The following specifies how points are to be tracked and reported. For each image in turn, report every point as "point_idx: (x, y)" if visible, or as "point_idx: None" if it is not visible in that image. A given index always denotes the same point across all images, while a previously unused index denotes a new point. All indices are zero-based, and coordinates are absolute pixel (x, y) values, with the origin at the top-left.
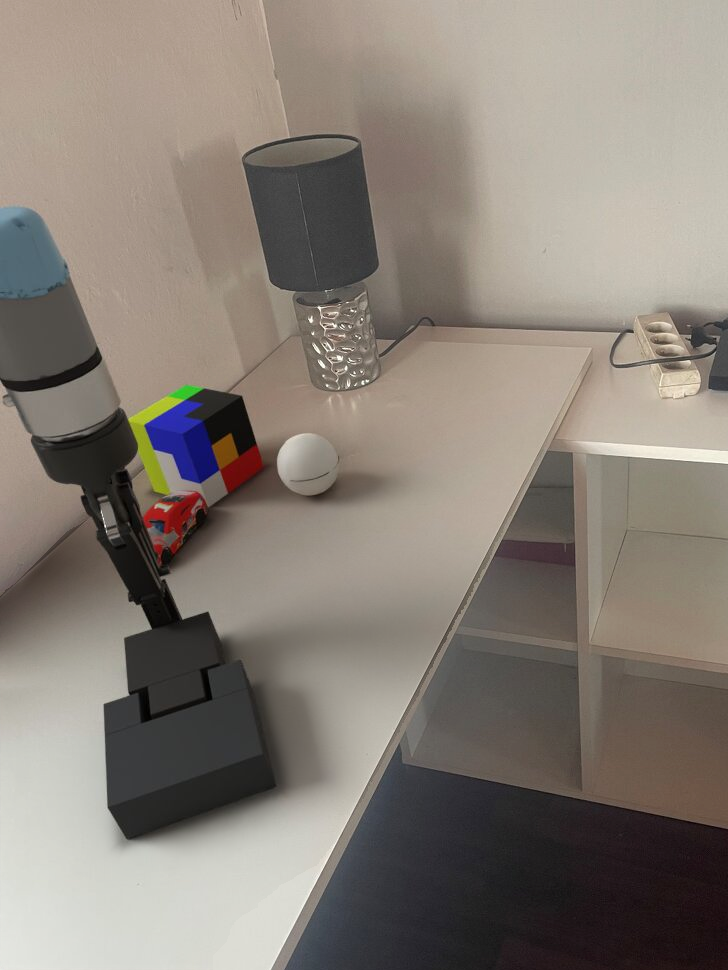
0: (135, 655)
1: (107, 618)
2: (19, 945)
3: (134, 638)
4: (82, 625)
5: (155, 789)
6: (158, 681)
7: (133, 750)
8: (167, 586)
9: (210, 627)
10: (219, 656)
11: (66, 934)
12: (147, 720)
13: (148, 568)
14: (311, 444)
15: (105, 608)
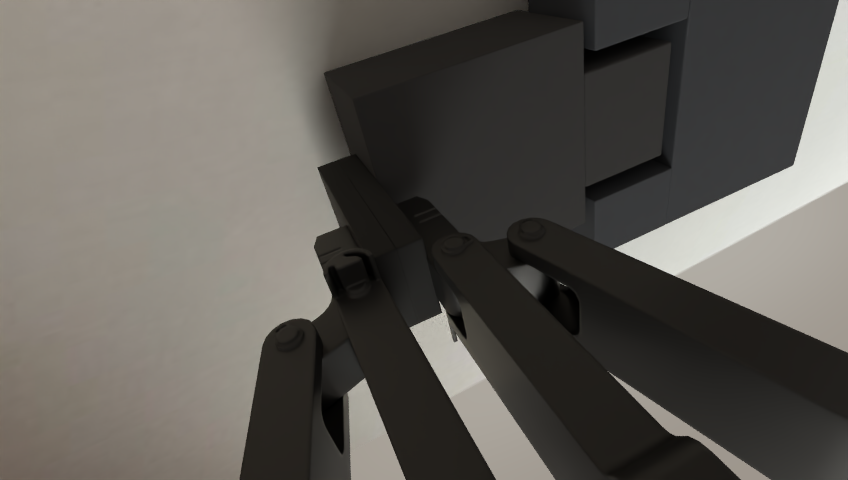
0: None
1: (189, 382)
2: (772, 215)
3: None
4: (213, 417)
5: (812, 95)
6: (582, 167)
7: (720, 161)
8: (378, 241)
9: (436, 74)
10: (511, 35)
11: (789, 171)
12: None
13: (699, 288)
14: None
15: (147, 404)
